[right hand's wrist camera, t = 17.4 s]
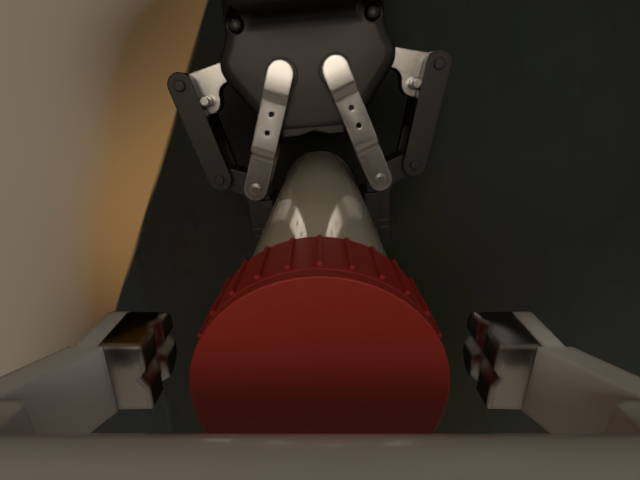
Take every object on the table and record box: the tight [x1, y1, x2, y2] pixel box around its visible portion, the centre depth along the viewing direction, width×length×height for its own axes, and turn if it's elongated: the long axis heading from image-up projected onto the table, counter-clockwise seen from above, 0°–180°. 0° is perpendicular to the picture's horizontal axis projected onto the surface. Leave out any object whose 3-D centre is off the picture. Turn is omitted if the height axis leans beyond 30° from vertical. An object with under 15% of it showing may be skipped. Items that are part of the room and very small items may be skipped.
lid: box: [189, 235, 450, 434], centre depth 9 cm, size 6×6×2 cm
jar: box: [252, 151, 388, 258], centre depth 18 cm, size 5×5×20 cm
